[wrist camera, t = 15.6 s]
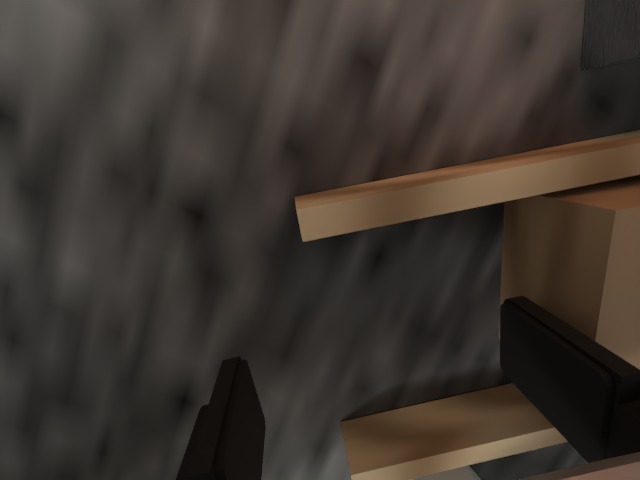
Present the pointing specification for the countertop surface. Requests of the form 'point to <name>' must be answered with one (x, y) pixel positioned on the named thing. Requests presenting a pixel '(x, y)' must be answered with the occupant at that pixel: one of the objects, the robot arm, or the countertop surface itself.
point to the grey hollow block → (610, 33)
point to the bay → (435, 199)
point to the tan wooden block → (579, 259)
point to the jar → (452, 475)
